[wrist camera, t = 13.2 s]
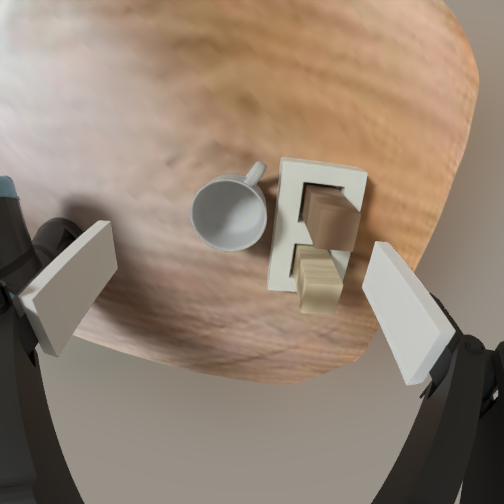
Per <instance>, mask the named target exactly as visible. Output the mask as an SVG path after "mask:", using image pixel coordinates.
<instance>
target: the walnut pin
mask: <svg viewBox="0 0 504 504" xmlns="http://www.w3.org/2000/svg"><path fill="white" fill-rule="evenodd" d="M300 212H301V215H302V217H303V220H304V222H305V225H306V227H307V230H308V232H309V235H310V237H311V240H312V243H313V245H314V248H315V249H326V250H338V251H350V252H353V249H354V245H355V241H356V237H357V232H358V228H359V224H360V219H361V215H362V214H361V213H360V212H359V211H358V210H357V209H356V208H355V207H354V206H353V204H352V203H351V202H350V201H349V200H348V199H347V198H346V197H345V196H344V195H343V194H342V193H341V192H340V191H339V190H338V189H337V188H336V187H335V186H331V185H323V184H315V183H307V182H304V190H303V197H302V204H301V211H300Z"/></svg>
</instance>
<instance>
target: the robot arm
mask: <svg viewBox="0 0 504 504" xmlns="http://www.w3.org/2000/svg"><path fill="white" fill-rule="evenodd" d="M19 200H20V199H19V197H18V196H17V193H16V189H15V186H14V182H13V180H12V179H11V178H10V177H8V176H0V504H84V502H83V500H82V498H81V496H80V494H79V492H78V490H77V487H76V485H75V483H74V481H73V479H72V476H71V474H70V471H69V469H68V466H67V464H66V461H65V458H64V456H63V454H62V450H61V447H60V445H59V442H58V439H57V435H56V432H55V429H54V426H53V422H52V419H51V415H50V412H49V408H48V404H47V400H46V395H45V391H44V387H43V382H42V377H41V371H40V366H39V360H38V354H37V352H36V350H35V347H36V345H37V344H38V342H39V344H40V346H41V348H42V350H43V352H44V353H46V354H49V355H52V356H55V357H59V354H60V353H61V351H62V350H63V348H64V347H65V345H66V343H67V342H68V340H69V339H70V337H71V336H72V334H73V332H74V331H75V329H76V328H77V326H78V325H79V323H80V322H81V320H82V319H83V317H84V316H85V314H86V313H87V311H88V310H89V308H90V307H91V305H92V304H93V302H94V301H95V300H96V298H97V297H98V295H99V294H100V292H101V291H102V290H103V288H104V287H105V285H106V284H107V283H108V281H109V280H110V279H111V277H112V276H113V275H114V273H115V272H116V271H117V269H118V266H117V260H116V254H115V248H114V241H113V234H112V226H111V221H100V220H98V221H97V222H96V223H95V224H94V225H92V226H91V227H90V228H89V229H88V230H86V231H85V232H84V233H83V232H82V231H81V230H80V228H79V227H77V226H76V225H75V224H74V223H72V222H71V221H69V220H67V219H64V218H53V219H50V220H49V221H47V222H46V223H44V224H43V225H42V226H41V227H40V228H39V230H38V231H37V234H36V235H35V237H34V238H33V240H32V241H31V238H30V235H29V232H28V229H27V226H26V223H25V220H24V217H23V213H22V210H21V206H20V203H19ZM362 289H363V291H364V293H365V295H366V297H367V299H368V301H369V303H370V305H371V307H372V309H373V311H374V313H375V315H376V318H377V320H378V322H379V324H380V326H381V328H382V330H383V332H384V335H385V337H386V339H387V341H388V343H389V346H390V348H391V350H392V352H393V355H394V357H395V359H396V362H397V364H398V366H399V369H400V371H401V374H402V376H403V378H404V381H405V383H406V385H407V386H408V385H414V384H420V383H422V382H423V381H424V379H425V378H426V377H427V375H428V374H429V373H430V375H431V377H432V381H431V382H430V384H429V385H428V386H427V388H426V389H425V390H424V391H423V393H422V394H421V395H420V398H422V397H423V396H424V395H425V396H424V399H423V402H422V404H421V407H420V410H419V412H418V415H417V417H416V419H415V422H414V424H413V426H412V429H411V431H410V433H409V435H408V438H407V440H406V442H405V444H404V446H403V448H402V450H401V452H400V455H399V456H398V458H397V460H396V462H395V464H394V466H393V468H392V470H391V471H390V473H389V475H388V477H387V479H386V481H385V482H384V484H383V486H382V487H381V489H380V490H379V492H378V494H377V495H376V497H375V498H374V500H373V502H372V503H371V504H454V503H455V500H456V498H457V495H458V492H459V489H460V487H461V484H462V481H463V485H462V491H461V498H460V504H504V341H503V342H500V344H499V345H498V346H497V348H496V349H495V351H493V350H487V349H485V347H484V345H483V343H482V342H481V341H480V340H479V339H477V338H476V337H474V336H472V335H463V333H462V331H461V330H460V329H459V327H458V326H457V324H456V323H455V321H454V320H453V318H452V317H451V316H450V315H449V313H448V312H447V310H446V309H444V306H443V305H442V303H441V302H440V300H439V299H437V298H436V297H435V296H434V295H432V294H431V293H429V292H428V291H427V290H426V289H425V287H424V286H423V285H422V283H421V282H420V281H419V279H418V278H417V277H416V276H415V274H414V273H413V272H412V270H411V269H410V268H409V267H408V265H407V264H406V263H405V262H404V260H403V259H402V258H401V257H400V256H399V254H398V253H397V252H396V251H395V250H394V248H393V247H392V246H391V245H390V244H389V243H388V242H380V241H375V244H374V248H373V252H372V255H371V259H370V262H369V265H368V269H367V272H366V275H365V279H364V282H363V285H362ZM497 390H498V397H497V398H496V399H495V400H494V399H493V394H494V393H495V392H496V391H497Z"/></svg>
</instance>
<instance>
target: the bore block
mask: <svg viewBox="0 0 504 504" xmlns="http://www.w3.org/2000/svg"><path fill="white" fill-rule="evenodd" d="M367 175H368V173H367V172H366V171H364V170H363V169H361V168H359V167H354V166H348V165H341V164H335V163H328V162H321V161H314V160H306V159H297V158H288V157H281V162H280V171H279V180H278V189H277V198H276V207H275V216H274V225H273V233H272V242H271V250H270V258H269V267H268V275H267V284H268V290H276V291H292V292H297V290H296V285H295V279H294V274H293V269H292V261H293V255H294V249H295V243H297V244H309V245H313V243H312V240H311V237H310V235H309V232H308V230H307V227H306V225H305V222H304V220H303V217H302V215H301V212H300V211H301V204H302V197H303V190H304V182H307V183H315V184H323V185H331V186H335V187H336V188H337V189H338V190H339V191H340V192H341V193H342V194H343V195H344V196H345V197H346V198H347V199H348V200H349V201H350V202H351V203H352V204H353V206H354V207H355V208H356V209H357V210H358V211H359V212H360V210H361V206H362V201H363V196H364V191H365V186H366V180H367ZM328 252H329V254H330V256H331V258H332V260H333V263H334V265H335V267H336V269H337V272H338V274H339V276H340V278H341V281H342V283H343V279H344V276H345V272H346V268H347V265H348V261H349V257H350V253H351V252H350V251H338V250H328Z"/></svg>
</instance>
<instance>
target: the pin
mask: <svg viewBox="0 0 504 504" xmlns="http://www.w3.org/2000/svg"><path fill="white" fill-rule="evenodd" d="M292 269H293V274H294V279H295V285H296V290H297V295H298V300H299V305H300V311H301V313H315V314H335V312H336V309H337V305H338V302H339V299H340V295H341V292H342V288H343V283H342V281H341V278H340V276H339V274H338V272H337V269H336V267H335V265H334V263H333V260H332V258H331V256H330V254H329V252H328V250H326V249H315V248H314V245H309V244H297V243H295V249H294V255H293V261H292Z"/></svg>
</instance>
